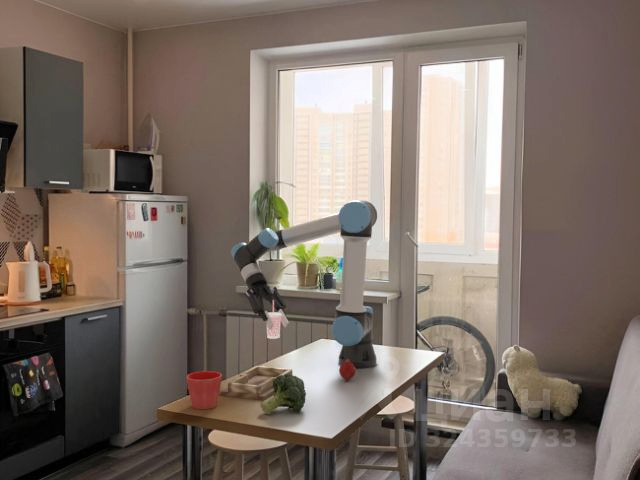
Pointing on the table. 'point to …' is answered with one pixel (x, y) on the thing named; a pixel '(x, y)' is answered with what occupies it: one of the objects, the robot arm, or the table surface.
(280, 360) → the table surface
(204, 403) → the flower pot
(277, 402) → the vegetable
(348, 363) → the pomegranate
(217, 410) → the table surface
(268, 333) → the beverage cup
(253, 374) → the light brown wooden tray
